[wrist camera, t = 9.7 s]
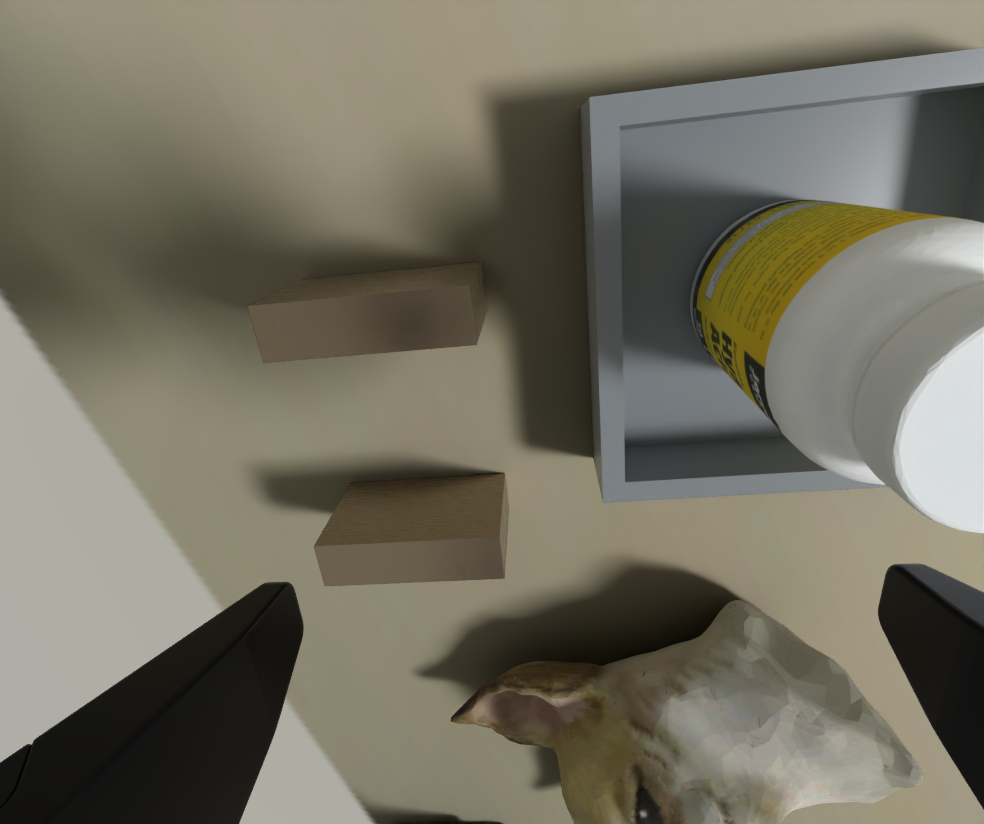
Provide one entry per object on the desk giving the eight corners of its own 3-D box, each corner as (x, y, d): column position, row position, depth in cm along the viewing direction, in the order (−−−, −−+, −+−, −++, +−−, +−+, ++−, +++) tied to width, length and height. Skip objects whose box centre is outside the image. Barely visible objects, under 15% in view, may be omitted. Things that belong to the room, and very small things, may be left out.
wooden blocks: (509, 509, 22) (504, 578, 18) (358, 518, 22) (324, 585, 19) (481, 261, 18) (469, 285, 15) (303, 279, 19) (247, 306, 15)
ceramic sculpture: (1033, 941, 16) (588, 1018, 21) (880, 683, 24) (582, 785, 29) (875, 714, 13) (406, 867, 18) (760, 505, 21) (453, 653, 26)
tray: (925, 437, 20) (990, 481, 17) (593, 458, 21) (603, 502, 18) (1007, 56, 15) (1112, 31, 12) (579, 109, 16) (589, 96, 14)
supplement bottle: (648, 309, 18) (769, 448, 9) (781, 157, 16) (1107, 139, 7) (770, 406, 19) (988, 621, 10) (908, 275, 17) (1336, 392, 8)
